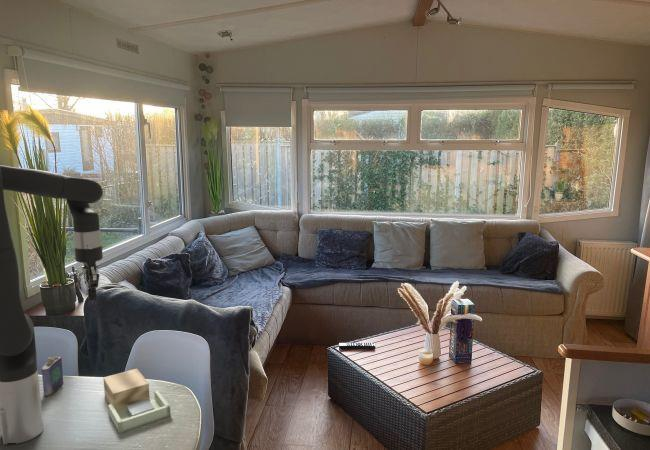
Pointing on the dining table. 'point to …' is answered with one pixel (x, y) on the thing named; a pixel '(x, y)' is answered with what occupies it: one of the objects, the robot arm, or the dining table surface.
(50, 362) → the flask
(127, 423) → the tray
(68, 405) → the dining table surface
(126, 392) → the cardboard box
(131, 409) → the tile
